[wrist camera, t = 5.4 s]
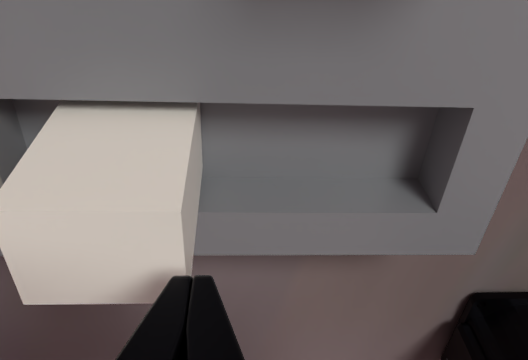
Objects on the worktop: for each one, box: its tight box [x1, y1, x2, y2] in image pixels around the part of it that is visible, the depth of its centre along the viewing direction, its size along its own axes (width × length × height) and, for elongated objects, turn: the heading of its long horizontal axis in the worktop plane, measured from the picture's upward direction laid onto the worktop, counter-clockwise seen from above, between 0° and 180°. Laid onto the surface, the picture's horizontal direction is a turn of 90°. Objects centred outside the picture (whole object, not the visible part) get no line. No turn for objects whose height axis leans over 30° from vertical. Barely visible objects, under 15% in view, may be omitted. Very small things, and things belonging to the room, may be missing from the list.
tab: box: [0, 100, 203, 305], centre depth 13 cm, size 4×3×6 cm
